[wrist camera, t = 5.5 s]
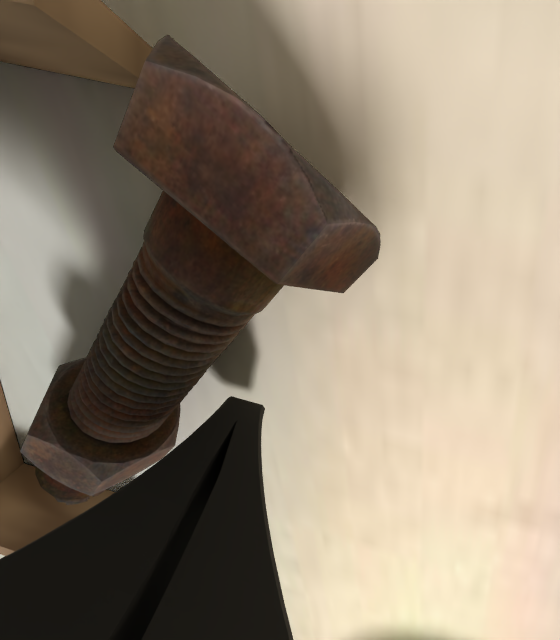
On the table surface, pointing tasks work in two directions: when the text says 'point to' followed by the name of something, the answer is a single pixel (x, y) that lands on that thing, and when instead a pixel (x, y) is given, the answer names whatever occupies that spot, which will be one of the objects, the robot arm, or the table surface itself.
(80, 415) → the bolt
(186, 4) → the table surface
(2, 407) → the frame
